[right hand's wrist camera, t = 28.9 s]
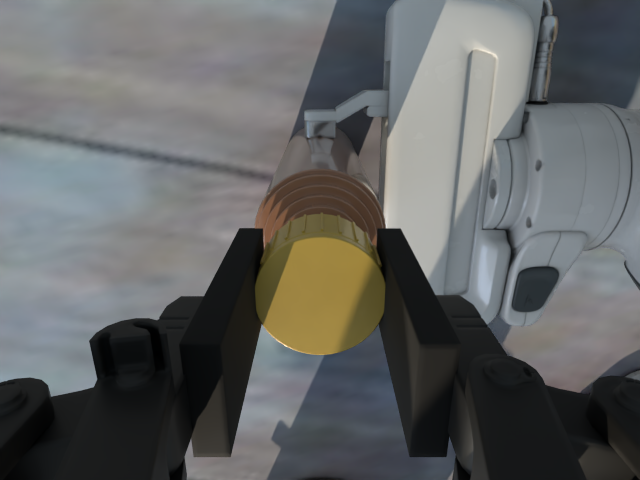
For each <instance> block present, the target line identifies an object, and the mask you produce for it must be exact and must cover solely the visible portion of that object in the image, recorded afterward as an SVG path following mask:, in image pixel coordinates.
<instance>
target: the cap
mask: <svg viewBox="0 0 640 480" xmlns="http://www.w3.org/2000/svg"><path fill="white" fill-rule="evenodd" d="M260 264H261V265H260V268H259V272H258V275H257V278H256V282H255V298H256V312H257V314H258V317H259V319H260V321H261V323H262V325H263V326H264V327H265V329H266V330H267V331H268V332H269V333H270V334H271V335H272V337H274V338H275V339H276V340H277V341H279V342H280V343H282V344H283V345H285V346H287V347H289V348H291V349H293V350H296V351H299V352H303V353H307V354H316V355H325V354H334V353H338V352H342V351H345V350H347V349H350V348H352V347H354V346H356V345H357V344H359V343H361V342H362V341H363V340H365V339H366V338H367V337H368V336H369V335H370V334H371V333H372V332H373V331H374V330H375V328H376V327H377V325H378V324H379V322H380V320H381V318H382V316H383V314H384V303H385V279H384V276H383V273H382V270H381V267H382V264H381V261H380V258H379V255H378V252H377V249H376V246H375V245H373V244H372V242H371V241H370V239H369V237H368V234H367V232H365V233H364V232H363V231H362V230H361V229H360V228H359V227H358V226H356V225H355V222H350V221H348V220H346V219H344V218H341V217H340V215H337V216H334V215H328V214H323V213H320V214H313V215H306V214H304V216H303V217H300V218H297V219H295V220H293V221H291V220H289V221H288V223H287V224H286V225H284V226H283V227H282V228H280V229H279V230H276V231H275V234H274V236H273V237H272V239H271V240H270V242H269V243H268V242H267V243H266V246H265V249H264V252H263V255H262V258H261V262H260Z"/></svg>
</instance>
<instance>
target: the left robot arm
mask: <svg viewBox="0 0 640 480" xmlns="http://www.w3.org/2000/svg"><path fill="white" fill-rule="evenodd" d="M542 8H544V13H545V16H541V14H542ZM558 31H559V17H558V16H556V15H553V8H552V3H551V0H396V1H395V2H394V3H393V4H392V5H391V7H390V8H389V9H388V11H387V14H386V26H385V50H384V73H383V90H363V91H361V92H359V93H358V94H356V95H354V96H353V97H351V98H349V99H348V100H346V101H344V102H343V103H341V104H339V105H338V106H336V107H335V109H311V110H305V111H304V122H305V137H306V138H315V137H318V136H320V135H321V136H322V137H325V138H335V136H336V123H338V122H340V121H342V120H343V119H345V118H347V117H349V116H350V115H352V114H354V113H355V112H357V111H359V110H361V109H362V108H364V113H365V114H366V115H367V116H369V117H382V121H381V145H380V168H379V192H378V201H379V204H380V206H381V208H382V211H383V214H384V218H385V224H386V228H401V230H402V232H403V234H404V236H405V238H406V239H407V241H408V243H409V245H410V247H411V249H412V251H413V253H414V255H415V257H416V259H417V261H418V262H419V264H420V266H421V268H422V270H423V272H424V274H425V276H426V278H427V280H428V282H429V283H430V285H431V287H432V289H433V291H434V293H435V295H460V296H461V297H463V298H464V299H466V300H467V301H469V302H470V303H472V304H473V305H474V306H475V308H476V309H477V311H478V312H479V314H480V315H481V318H483V320H484V321H485V323H486V324H489V323H490V322H491V321H492V320H493V319H494V318H495V317H496V315H497V314H498V315H499V316H500V317H501V318H502V319H503V320H504V321H505V322H506V323H507V324H509V325H512V326H529V325H532V324H534V323H535V322H536V321H537V320H538V319H539V318H540V317H541V315H542V313H543V312H544V310H545V308H546V306H547V304H548V303H549V301H550V299H551V297H552V296H553V294H554V292H555V291H556V289H557V287H558V286H559V284H560V282H561V281H562V279H563V278H564V276H565V274H566V273H567V272H568V270H569V269H570V267H571V266H572V264H573V263H574V262H575V260H576V259H577V258H578V256H579V255H580V254H581V252H582V251H586V250H592V249H597V248H610V249H613V250H616V251H618V252H620V253H621V254H622V255H623V256H624V257H625V259H626V260H625V262H624V265H625V268H626V270H627V272H628V273H629V275H630V277H631V278H632V280H633V282H634V283H635V284H636V286H637V287H638V289H639V290H640V109H636V110H628V109H623V108H620V107H617V106H614V105H610V104H604V103H548V102H547V97H548V91H549V85H550V79H551V71H552V68H551V67H552V63H551V62H552V58H551V57H552V55H553V52H552V51H553V49H554V43H555V42H556V40H557V36H558Z"/></svg>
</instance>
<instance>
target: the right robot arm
mask: <svg viewBox="0 0 640 480" xmlns="http://www.w3.org/2000/svg"><path fill="white" fill-rule="evenodd" d="M376 249H377V252H378V255H379V258H380V261H381V264H382V267H381V270H382V273H383V276H384V279H385V303H384V314H383V316H382V318H381V320H380V322H379V328H380V332H381V336H382V340H383V345H384V349H385V353H386V357H387V362H388V366H389V370H390V375H391V379H392V383H393V387H394V392H395V396H396V400H397V405H398V409H399V413H400V417H401V422H402V426H403V430H404V434H405V439H406V443H407V447H408V452H409V456H410V457H446V456H447V449H448V441H449V436H450V439H451V442H452V445H453V448H454V450H455V453H456V458H455V465H454V472H453V479H452V480H640V380H637V379H633V378H628V377H620V376H607V377H602V378H599V379H598V380H596V381H595V382H594V383H593V385H592V389H591V393H590V395H587V394H582V393H577V392H572V391H567V390H562V389H558V388H554V387H551V386H547V385H545V383H544V381H543V379H542V377H541V376H540V375H539V373H538V372H537V371H536V370H535V369H534V368H533V367H531V366H530V365H528V364H527V363H526V362H523V361H521V360H519V359H516V358H514V357H511V356H507V354H506V353H505V351H504V350H503V348H502V347H501V345H500V344H499V342H498V341H497V339H496V338H495V336H494V335H493V333H492V332H491V330H490V329H489V328H487V324H486V323H485V321H484V320H483V318H481V315H480V314H479V312H478V311H477V309H476V308H475V306H474V305H473V304H472V303H470V302H469V301H467V300H466V299H464V298H463V297H461V296H460V295H435V293H434V291H433V289H432V287H431V285H430V283H429V282H428V280H427V278H426V276H425V274H424V272H423V270H422V268H421V266H420V264H419V262H418V261H417V259H416V257H415V255H414V253H413V251H412V249H411V247H410V245H409V243H408V241H407V239H406V238H405V236H404V234H403V232H402V230H401V228H377V245H376ZM263 252H264V240H263V228H240V229H239V230H238V232H237V234H236V236H235V238H234V240H233V242H232V244H231V246H230V248H229V250H228V251H227V253H226V255H225V257H224V259H223V261H222V263H221V265H220V267H219V269H218V271H217V273H216V274H215V276H214V278H213V280H212V282H211V284H210V286H209V288H208V290H207V292H206V294H205V296H181V297H180V298H178V299H177V300H175V301H174V302H172V303H171V304H169V305H168V306H167V307H166V308H165V310H164V311H163V313H162V314H161V316H160V317H159V320H153V319H149V318H135V319H130V320H124V321H120V322H117V323H115V324H112V325H109V326H107V327H105V328H104V329H102V330H100V331H99V332H97V333H96V334H95V335H94V336H93V337H92V338H91V339H90V341H89V342H90V347H91V351H92V356H93V361H94V365H95V370H96V375H97V382H96V384H95V386H94V387H93V388H89V389H86V390H82V391H77V392H73V393H68V394H63V395H58V396H53V397H51V395H50V392H49V388H48V385H47V384H46V383H45V382H43V381H42V380H40V379H34V378H20V379H13V380H8V381H4V382H1V383H0V480H186V479H187V472H186V465H185V458H184V456H185V453H186V451H187V448H188V445H189V442H190V439H192V447H193V454H194V457H231V453H232V448H233V444H234V440H235V436H236V431H237V427H238V423H239V418H240V414H241V410H242V406H243V401H244V397H245V393H246V389H247V384H248V380H249V376H250V371H251V367H252V363H253V359H254V354H255V350H256V346H257V341H258V337H259V333H260V329H261V324H262V323H261V321H260V319H259V317H258V314H257V312H256V298H255V282H256V278H257V275H258V272H259V268H260V265H261V264H260V262H261V258H262V255H263Z"/></svg>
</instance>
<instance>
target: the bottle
mask: <svg viewBox="0 0 640 480" xmlns="http://www.w3.org/2000/svg"><path fill="white" fill-rule="evenodd" d="M320 213H323V214H328V215H334V216H337V215H340V217H341V218H344V219H346V220H348V221H350V222H355V225H356V226H358V227H359V228H360V229H361V230H362V231H363V232H364V233H365V232H367V234H368V237H369V239H370V241H371V242H372V244H373V245H375V246H376V245H377V228H386V224H385V218H384V214H383V211H382V208H381V206H380V204H379V201H378V199H377V197H376V195H375V193H374V191H373V188H372V186H371V184H370V182H369V180H368V178H367V175H366V173H365V171H364V169H363V167H362V164H361V162H360V160H359V158H358V156H357V154H356V151H355V149H354V147H353V145H352V143H351V141H350V139H349V138H348V137H347V135H346V134H345V133H344V132H343V131H341V130H340V129H339V128H337V127H336V136H335V138H325V137H322V136H321V135H320V136H318V137H315V138H306V137H305V127H304V128H302V129H300V130H299V131H298V132H297V133H296V134H295V135H294V136H293V137H292V138H291V140H290V142H289V144H288V146H287V148H286V150H285V152H284V155H283V157H282V159H281V161H280V163H279V166H278V168H277V170H276V172H275V174H274V176H273V179H272V181H271V183H270V185H269V187H268V190H267V192H266V194H265V196H264V198H263V200H262V203H261V205H260V207H259V210H258V213H257V216H256V221H255V228H263V240H264V249H265V246H266V243H267V242H268V243H269V242H270V240H271V239H272V237H273V236H274V234H275V231H276V230H279V229H280V228H282V227H283V226H284V225H286V224H287V223H288V221H289V220H291V221H293V220H295V219H297V218H300V217H303V216H304V214H306V215H313V214H320Z"/></svg>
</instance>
